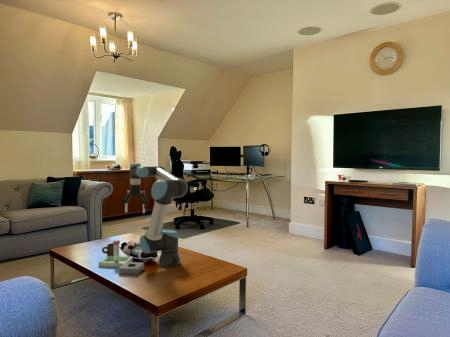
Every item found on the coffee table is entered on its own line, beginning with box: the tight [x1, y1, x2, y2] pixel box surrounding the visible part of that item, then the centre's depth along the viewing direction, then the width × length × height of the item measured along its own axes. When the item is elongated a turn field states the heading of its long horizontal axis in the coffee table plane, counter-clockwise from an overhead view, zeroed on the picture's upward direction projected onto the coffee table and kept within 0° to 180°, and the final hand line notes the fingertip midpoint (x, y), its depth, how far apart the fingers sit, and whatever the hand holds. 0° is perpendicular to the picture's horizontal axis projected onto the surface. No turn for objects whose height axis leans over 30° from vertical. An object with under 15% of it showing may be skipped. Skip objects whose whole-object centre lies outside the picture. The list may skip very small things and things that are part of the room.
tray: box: [98, 255, 134, 269], centre depth 212 cm, size 18×14×3 cm
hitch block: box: [118, 261, 145, 276], centre depth 199 cm, size 12×12×4 cm
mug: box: [101, 242, 114, 257], centre depth 224 cm, size 12×8×9 cm, turn 140°
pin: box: [112, 239, 121, 263], centre depth 212 cm, size 4×4×15 cm
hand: (135, 212), depth 229 cm, fingers open, 13 cm apart
